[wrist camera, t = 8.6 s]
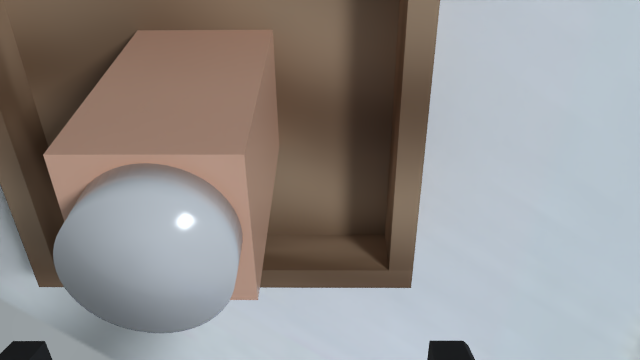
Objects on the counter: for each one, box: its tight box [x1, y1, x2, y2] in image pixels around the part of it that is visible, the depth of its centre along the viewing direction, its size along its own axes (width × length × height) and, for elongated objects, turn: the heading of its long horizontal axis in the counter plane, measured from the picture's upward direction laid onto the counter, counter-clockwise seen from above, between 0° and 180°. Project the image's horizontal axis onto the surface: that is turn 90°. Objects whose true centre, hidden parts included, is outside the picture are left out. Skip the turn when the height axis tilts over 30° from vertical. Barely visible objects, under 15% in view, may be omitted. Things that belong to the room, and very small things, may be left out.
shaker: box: [43, 30, 279, 333], centre depth 15 cm, size 4×4×8 cm
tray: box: [0, 0, 440, 288], centre depth 18 cm, size 13×13×2 cm
